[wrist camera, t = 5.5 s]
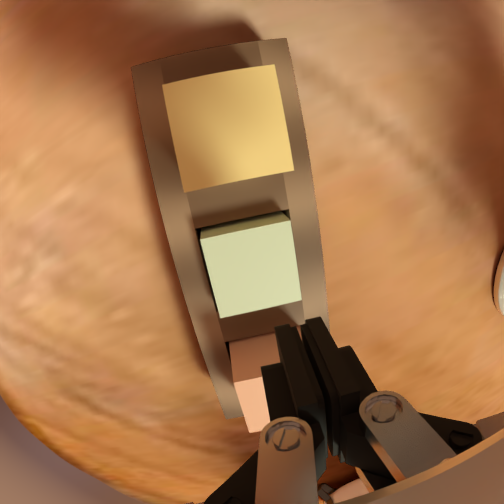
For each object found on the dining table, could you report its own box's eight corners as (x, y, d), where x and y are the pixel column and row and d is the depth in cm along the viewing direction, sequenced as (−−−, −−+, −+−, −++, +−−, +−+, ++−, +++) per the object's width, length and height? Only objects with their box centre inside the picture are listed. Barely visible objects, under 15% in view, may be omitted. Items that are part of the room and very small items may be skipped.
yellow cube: (273, 163, 19) (294, 170, 14) (191, 180, 19) (184, 192, 14) (258, 83, 17) (274, 64, 13) (174, 99, 17) (162, 84, 12)
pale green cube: (284, 269, 24) (301, 299, 19) (218, 283, 24) (220, 318, 19) (273, 203, 22) (290, 220, 18) (202, 218, 22) (200, 239, 17)
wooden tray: (319, 365, 28) (333, 394, 24) (223, 387, 28) (226, 419, 24) (273, 54, 19) (286, 38, 16) (144, 79, 19) (130, 67, 15)
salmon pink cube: (304, 371, 24) (321, 415, 20) (242, 386, 24) (249, 432, 19) (297, 320, 23) (317, 363, 18) (228, 336, 22) (233, 382, 18)
